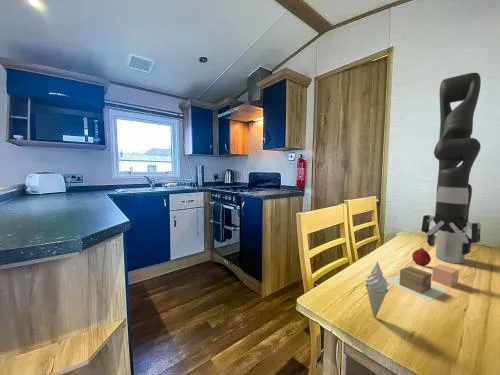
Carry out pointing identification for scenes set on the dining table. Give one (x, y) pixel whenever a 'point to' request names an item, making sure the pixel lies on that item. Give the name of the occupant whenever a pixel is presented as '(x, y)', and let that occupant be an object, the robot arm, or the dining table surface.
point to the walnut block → (415, 279)
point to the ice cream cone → (376, 288)
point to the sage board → (427, 295)
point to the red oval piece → (421, 257)
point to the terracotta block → (445, 275)
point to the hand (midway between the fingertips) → (447, 249)
